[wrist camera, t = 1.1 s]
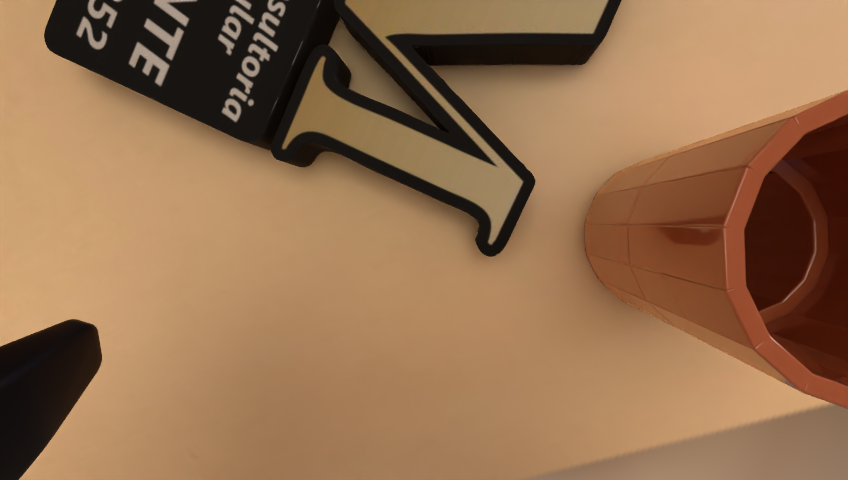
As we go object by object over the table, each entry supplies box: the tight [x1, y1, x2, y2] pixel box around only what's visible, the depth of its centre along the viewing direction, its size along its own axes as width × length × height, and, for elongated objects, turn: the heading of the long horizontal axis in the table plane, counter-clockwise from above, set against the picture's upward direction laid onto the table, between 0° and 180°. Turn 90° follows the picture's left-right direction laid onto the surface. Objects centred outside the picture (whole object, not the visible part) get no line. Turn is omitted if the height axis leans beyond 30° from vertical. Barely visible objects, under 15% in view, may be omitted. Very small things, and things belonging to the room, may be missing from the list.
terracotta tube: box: [585, 90, 848, 409], centre depth 17 cm, size 6×6×13 cm
